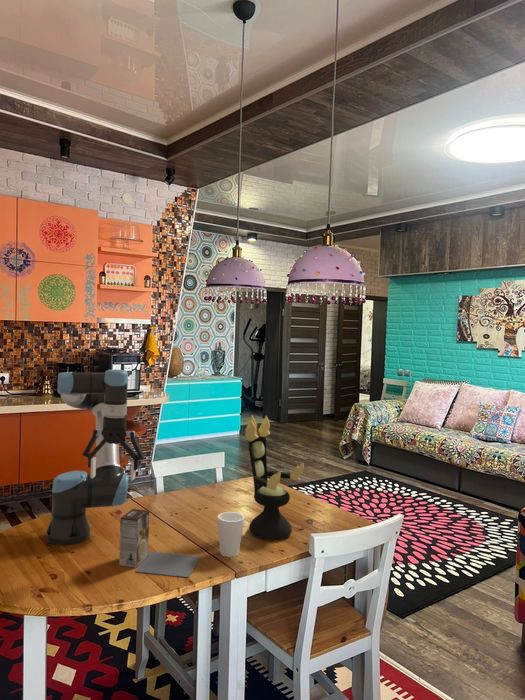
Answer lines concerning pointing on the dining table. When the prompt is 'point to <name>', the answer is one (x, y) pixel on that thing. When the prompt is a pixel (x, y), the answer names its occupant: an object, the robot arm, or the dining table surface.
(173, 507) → the dining table surface
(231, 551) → the foam cup
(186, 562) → the mat
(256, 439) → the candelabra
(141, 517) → the coffee box
